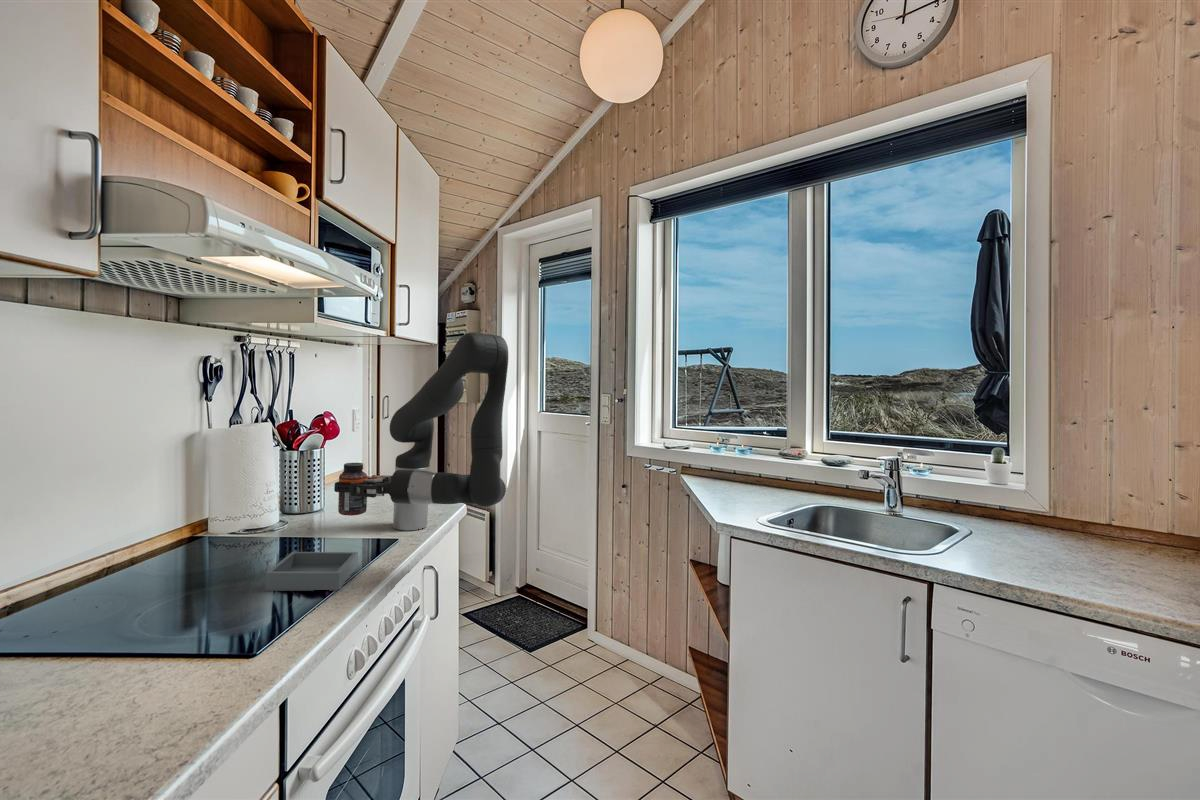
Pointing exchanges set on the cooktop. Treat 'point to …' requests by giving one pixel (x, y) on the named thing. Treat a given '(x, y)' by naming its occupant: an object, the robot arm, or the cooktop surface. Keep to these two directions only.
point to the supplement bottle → (347, 502)
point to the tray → (311, 571)
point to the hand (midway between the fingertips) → (342, 484)
